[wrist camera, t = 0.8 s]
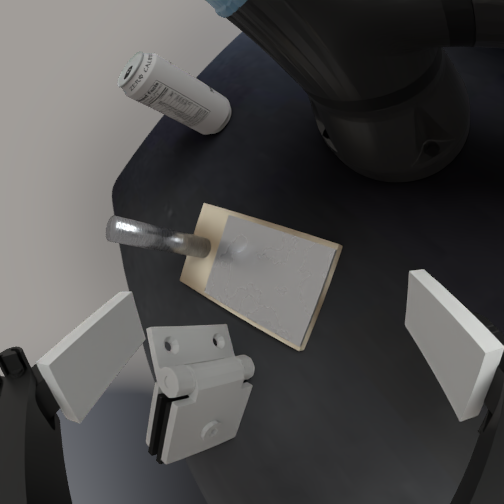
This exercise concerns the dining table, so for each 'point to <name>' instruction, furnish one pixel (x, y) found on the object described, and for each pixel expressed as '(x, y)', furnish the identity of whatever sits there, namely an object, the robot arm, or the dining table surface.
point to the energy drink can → (174, 93)
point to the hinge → (195, 390)
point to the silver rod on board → (248, 269)
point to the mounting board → (200, 268)
